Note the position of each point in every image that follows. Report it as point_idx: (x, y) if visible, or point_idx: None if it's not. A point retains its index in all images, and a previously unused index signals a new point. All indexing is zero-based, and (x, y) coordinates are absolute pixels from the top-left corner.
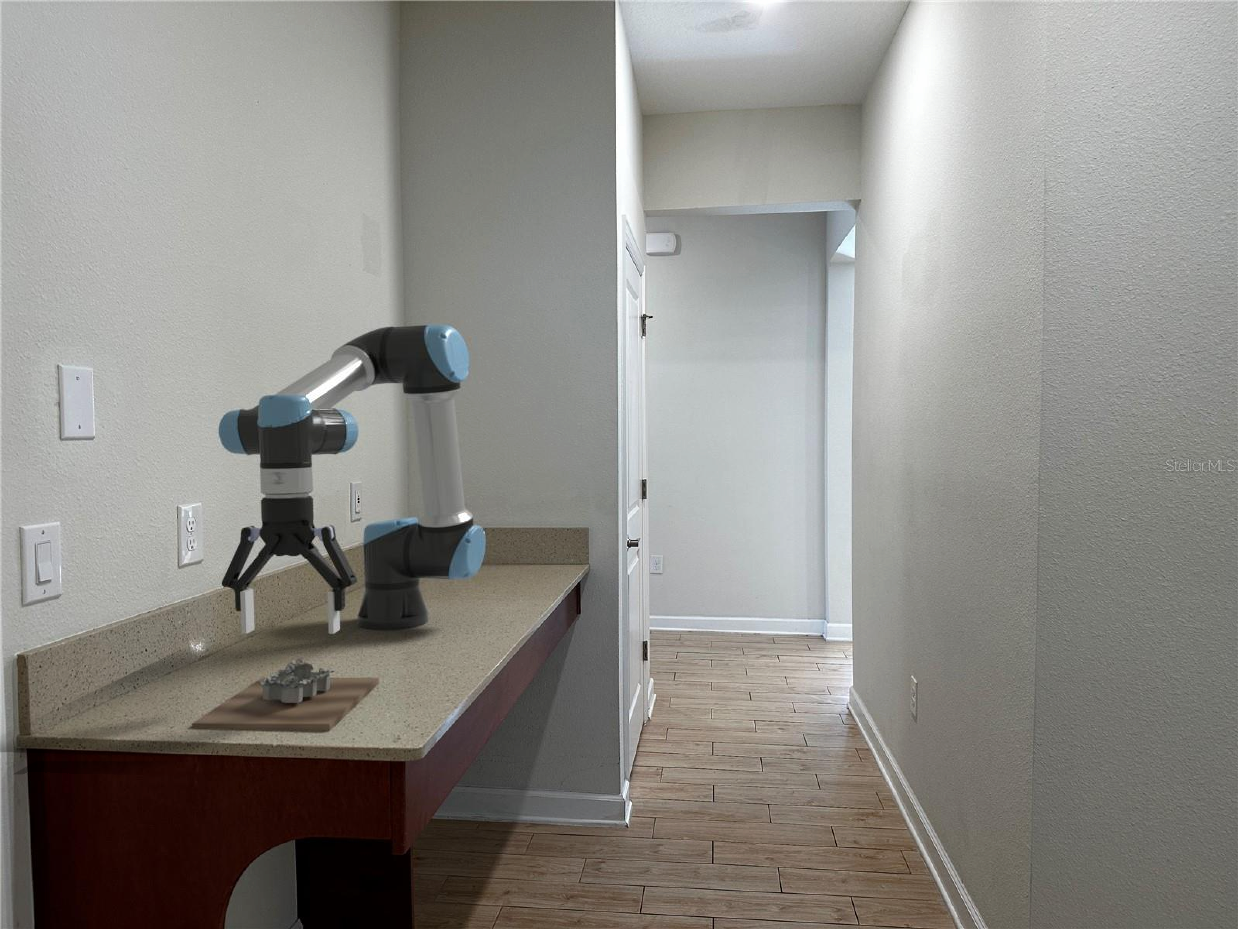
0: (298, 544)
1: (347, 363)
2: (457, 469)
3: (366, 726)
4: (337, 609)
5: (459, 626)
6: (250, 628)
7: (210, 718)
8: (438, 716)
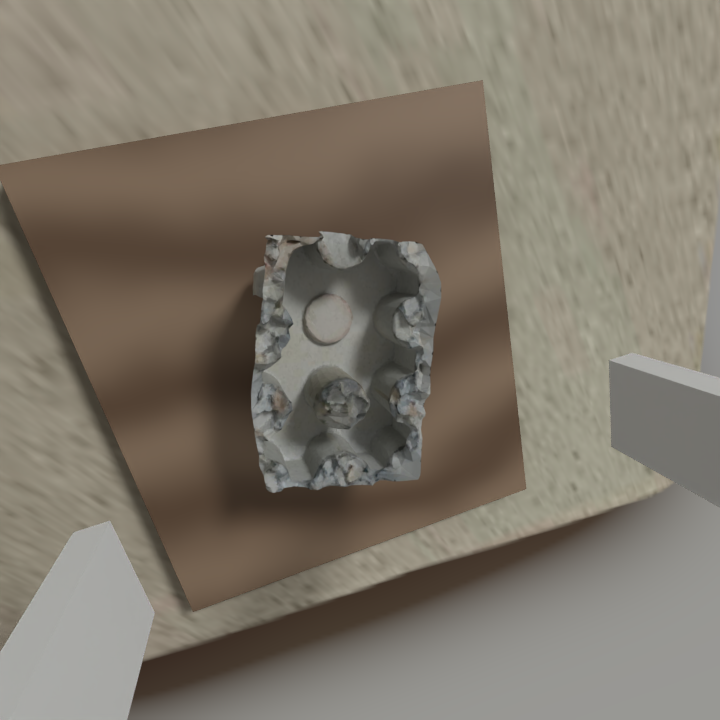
0: None
1: None
2: None
3: (571, 423)
4: None
5: None
6: (128, 586)
7: (212, 571)
8: (694, 320)
